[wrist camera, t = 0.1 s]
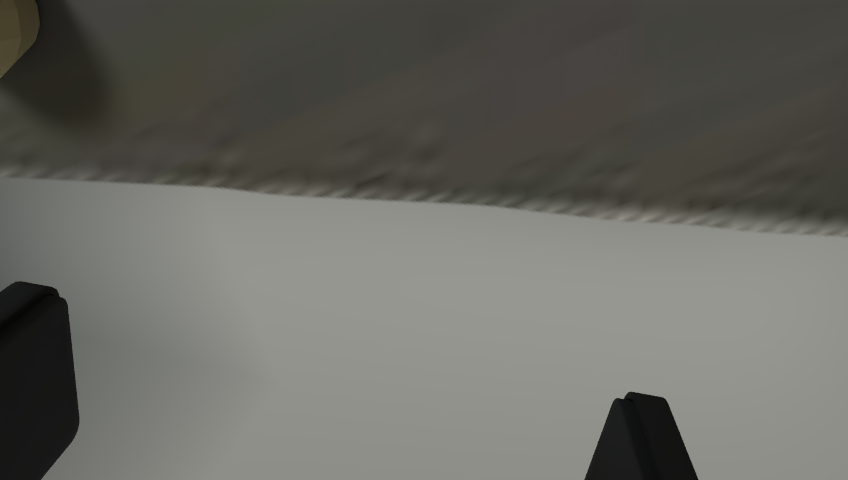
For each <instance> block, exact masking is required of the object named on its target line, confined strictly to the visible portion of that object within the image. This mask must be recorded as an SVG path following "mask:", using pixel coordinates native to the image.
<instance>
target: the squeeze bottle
mask: <svg viewBox="0 0 848 480" xmlns="http://www.w3.org/2000/svg"><path fill="white" fill-rule="evenodd" d="M39 27H40V20H39V13H38V5H37V3H36V1H35V0H0V78H1V77H2V76H3V75H4V74H5V73H6V72H7V71H8V70H9V69H10V68H11V67H12V66H13V65H14V63H15V62H16V61H17V60H18V59H19V58H20V57H21V56H22V55H23V54H24V53H25V52H26V51H27V50H28V49H29V48H30V47H31V46H32V44H33V43H34V42H35V41H36V38H37V34H38V30H39Z"/></svg>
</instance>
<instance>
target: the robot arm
mask: <svg viewBox="0 0 848 480" xmlns="http://www.w3.org/2000/svg"><path fill="white" fill-rule="evenodd" d="M78 426H79V410H78V401H77V391H76V383H75V372H74V362H73V354H72V343H71V333H70V323H69V314H68V305H67V302H66V300H65V299H64V298H61V297H60V296H59V293H58V291H57V290H56V289H55V288H53V287H49V286H43V285H38V284H32V283H27V282H15V283H13V284H11V285H10V286H8V287H7V288H5V289H4V290H2V291H1V292H0V480H41V479H42V478H43V476H44V475H45V474H46V472H47V471H48V470H49V469H50V468H51V467H52V465H53V464H54V463H55V462H56V460H57V459H58V458H59V457H60V456H61V454H62V453H63V452H64V451H65V449H66V448H67V447H68V446H69V445H70V443H71V442H72V441H73V439H74V437H75V435H76V433H77V430H78ZM585 480H698V478H697V476H696V473H695V470H694V468H693V465H692V463H691V460H690V458H689V455H688V453H687V450H686V447H685V445H684V443H683V440H682V437H681V435H680V432H679V430H678V427H677V425H676V422H675V420H674V417H673V415H672V412H671V410H670V407H669V405H668V403H667V401H666V399H664V398H663V397H657V396H652V395H646V394H641V393H635V392H628V393H627V395H626V396H625V398H624V399H620V398H616V399H615V400H614V401H613V403H612V406H611V408H610V411H609V414H608V417H607V419H606V422H605V425H604V428H603V431H602V433H601V436H600V439H599V441H598V444H597V447H596V450H595V452H594V455H593V458H592V461H591V463H590V466H589V469H588V472H587V474H586V477H585Z"/></svg>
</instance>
